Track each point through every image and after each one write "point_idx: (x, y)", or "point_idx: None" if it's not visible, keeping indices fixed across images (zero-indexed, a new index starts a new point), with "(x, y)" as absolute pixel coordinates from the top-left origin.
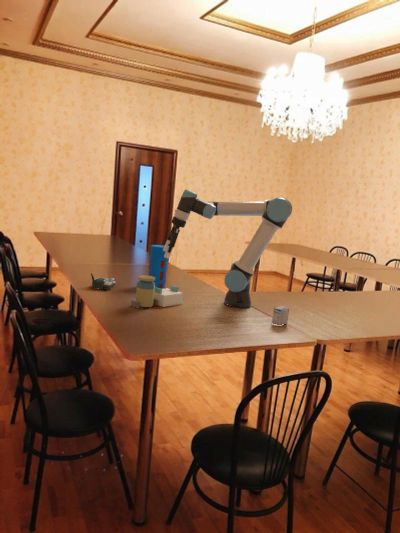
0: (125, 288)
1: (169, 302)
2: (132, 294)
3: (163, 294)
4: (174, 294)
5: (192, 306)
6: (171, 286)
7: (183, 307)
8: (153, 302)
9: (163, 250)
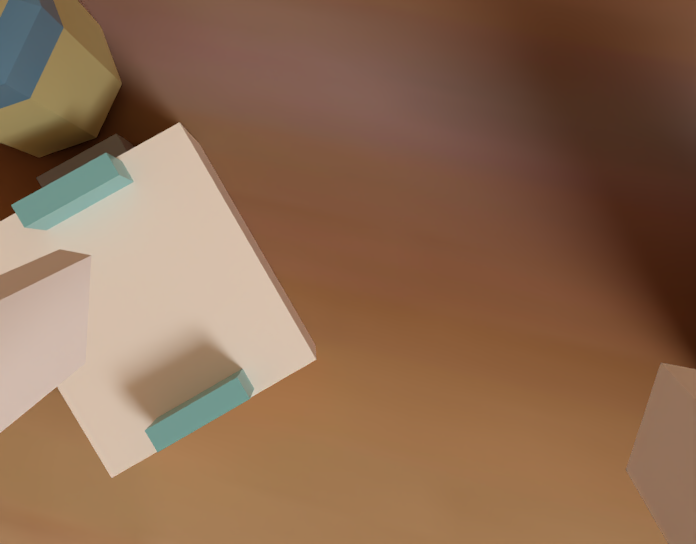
0: (672, 36)
1: None
2: (447, 58)
3: (17, 242)
4: None
5: (63, 517)
6: (224, 382)
7: (22, 424)
8: (28, 153)
9: (660, 377)
